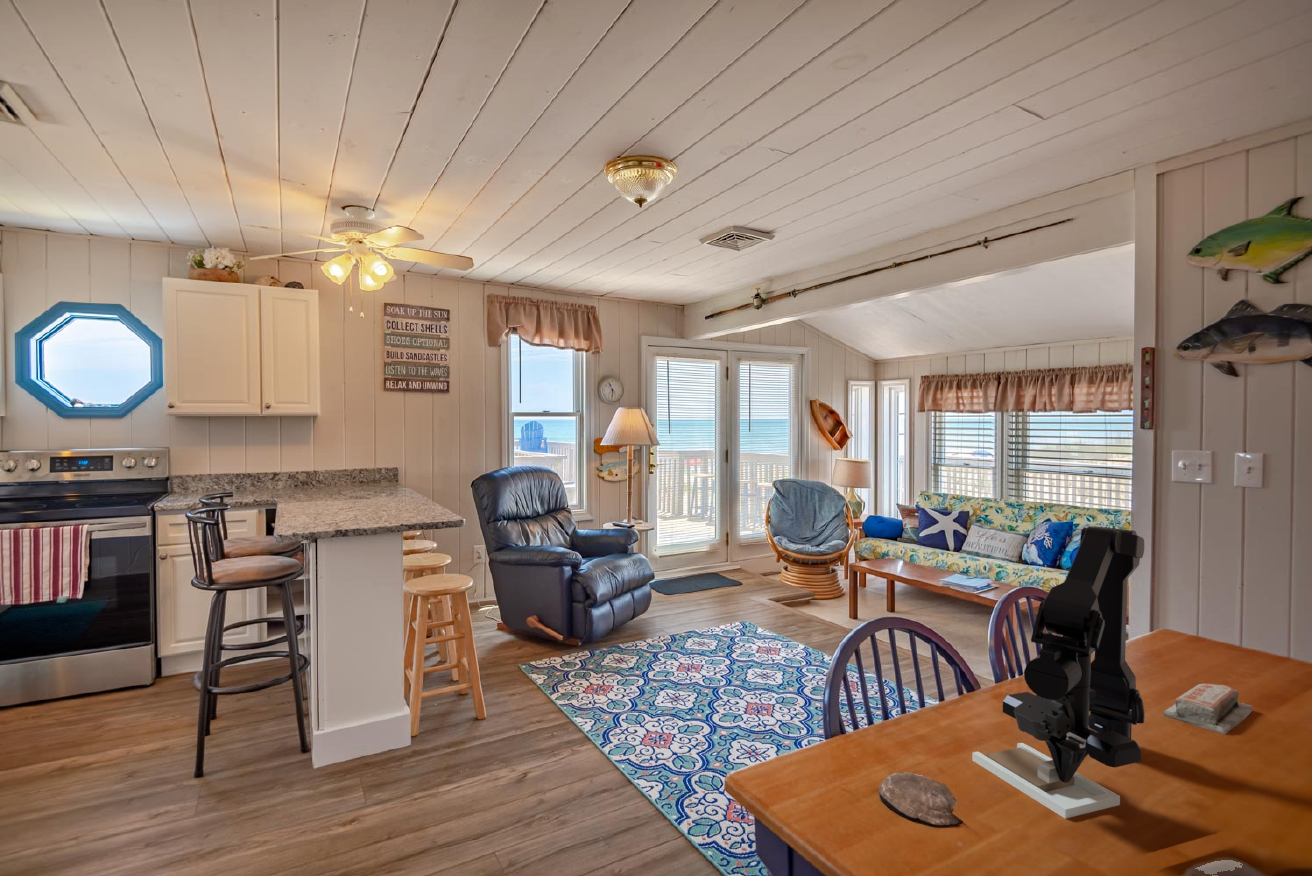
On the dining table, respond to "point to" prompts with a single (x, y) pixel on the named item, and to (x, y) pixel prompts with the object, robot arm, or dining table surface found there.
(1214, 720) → the packaged product
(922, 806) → the shell
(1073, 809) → the open box
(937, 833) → the dining table surface
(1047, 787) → the cover plate
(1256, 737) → the dining table surface
